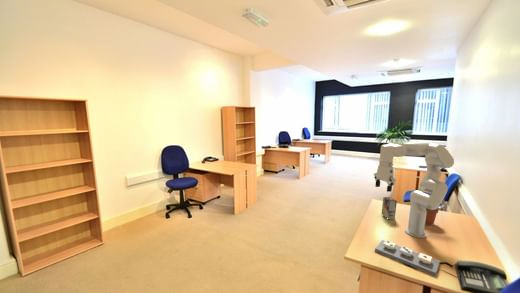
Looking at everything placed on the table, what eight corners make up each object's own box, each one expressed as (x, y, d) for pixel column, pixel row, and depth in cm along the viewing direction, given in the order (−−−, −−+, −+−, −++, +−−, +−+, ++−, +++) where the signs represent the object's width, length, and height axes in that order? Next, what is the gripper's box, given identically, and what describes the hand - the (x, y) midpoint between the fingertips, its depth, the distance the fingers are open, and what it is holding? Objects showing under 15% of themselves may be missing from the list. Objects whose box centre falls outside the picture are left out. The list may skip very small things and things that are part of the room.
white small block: (401, 251, 136) (402, 245, 136) (412, 255, 132) (413, 249, 132) (399, 255, 132) (399, 249, 132) (410, 259, 128) (411, 253, 128)
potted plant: (417, 216, 189) (422, 176, 184) (439, 223, 177) (445, 181, 172) (409, 220, 181) (414, 179, 176) (431, 228, 168) (437, 184, 163)
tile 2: (385, 245, 142) (386, 239, 142) (395, 249, 138) (396, 243, 138) (382, 248, 138) (383, 243, 138) (392, 252, 135) (393, 247, 134)
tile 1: (419, 258, 130) (420, 252, 129) (431, 262, 126) (432, 256, 125) (417, 262, 126) (418, 256, 125) (429, 267, 122) (430, 261, 121)
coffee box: (395, 219, 182) (397, 200, 180) (387, 219, 182) (389, 201, 179) (388, 214, 191) (389, 196, 189) (381, 214, 191) (382, 196, 188)
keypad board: (382, 242, 148) (382, 239, 148) (439, 264, 127) (439, 261, 127) (374, 251, 138) (375, 248, 138) (435, 276, 117) (435, 272, 117)
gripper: (401, 166, 138) (398, 193, 140) (380, 161, 154) (377, 184, 157) (392, 167, 136) (389, 193, 138) (371, 161, 152) (368, 185, 155)
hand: (383, 189), depth 147 cm, fingers open, 9 cm apart
